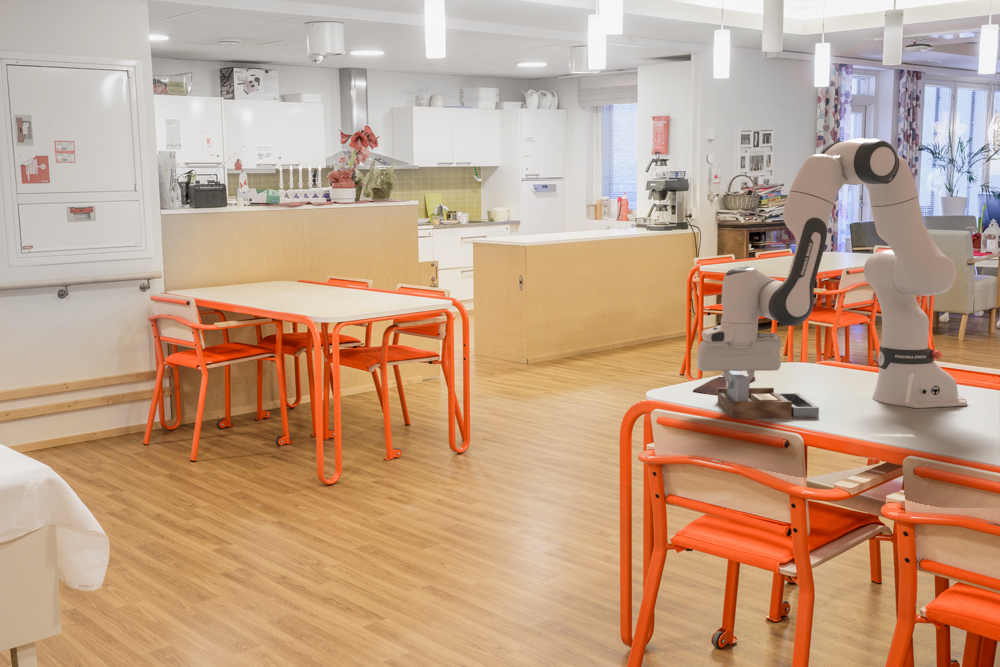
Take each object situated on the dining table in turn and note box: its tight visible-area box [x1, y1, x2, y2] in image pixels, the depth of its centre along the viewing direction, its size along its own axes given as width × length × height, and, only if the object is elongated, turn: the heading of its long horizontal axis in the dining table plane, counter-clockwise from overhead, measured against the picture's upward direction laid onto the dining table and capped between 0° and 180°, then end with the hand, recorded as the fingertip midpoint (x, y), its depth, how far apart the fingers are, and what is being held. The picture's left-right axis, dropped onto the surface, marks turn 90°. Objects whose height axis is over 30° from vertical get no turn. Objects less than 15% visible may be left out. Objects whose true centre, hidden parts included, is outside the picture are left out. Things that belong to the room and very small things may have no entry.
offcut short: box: [751, 394, 778, 401], centre depth 233 cm, size 4×7×2 cm, turn 2°
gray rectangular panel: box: [727, 371, 750, 401], centre depth 233 cm, size 2×12×9 cm, turn 179°
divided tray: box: [717, 387, 793, 419], centre depth 234 cm, size 14×17×4 cm
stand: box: [775, 392, 820, 419], centre depth 233 cm, size 6×17×2 cm, turn 179°
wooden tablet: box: [692, 374, 756, 396], centre depth 263 cm, size 26×2×10 cm
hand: (737, 388), depth 233 cm, fingers closed on gray rectangular panel, 2 cm apart
